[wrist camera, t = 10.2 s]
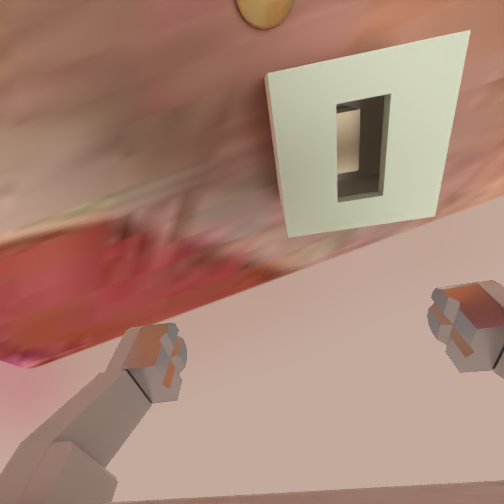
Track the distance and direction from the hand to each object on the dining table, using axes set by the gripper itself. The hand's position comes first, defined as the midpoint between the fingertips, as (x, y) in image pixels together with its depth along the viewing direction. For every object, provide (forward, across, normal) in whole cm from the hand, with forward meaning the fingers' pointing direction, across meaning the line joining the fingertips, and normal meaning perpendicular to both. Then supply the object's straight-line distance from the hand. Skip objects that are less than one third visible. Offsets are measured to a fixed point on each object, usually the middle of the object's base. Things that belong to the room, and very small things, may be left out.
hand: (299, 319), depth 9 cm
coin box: (+24, -7, 0) cm, 25 cm away
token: (+24, -7, 0) cm, 24 cm away
